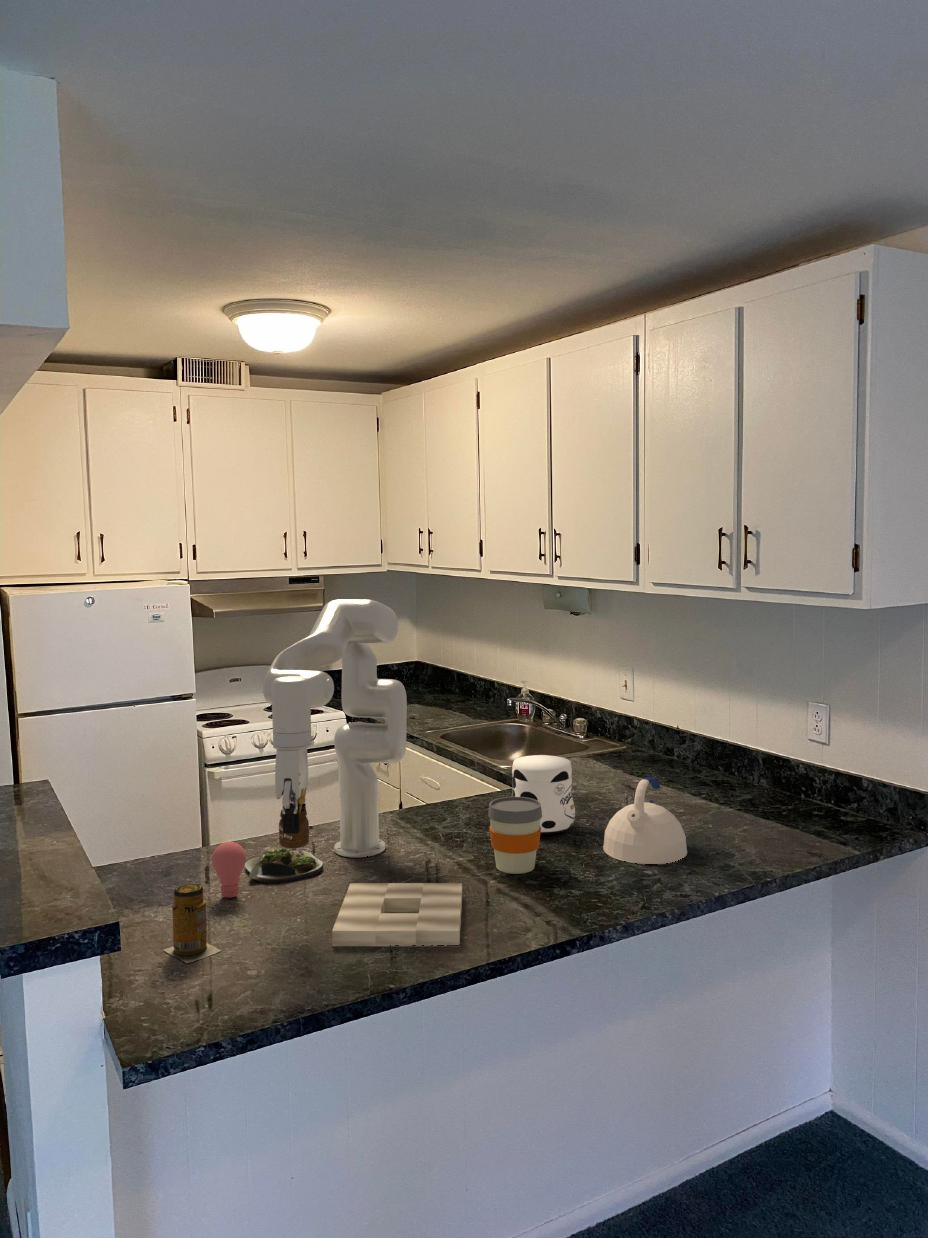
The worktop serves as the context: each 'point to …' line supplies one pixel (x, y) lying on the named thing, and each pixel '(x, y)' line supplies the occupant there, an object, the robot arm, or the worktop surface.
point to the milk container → (546, 789)
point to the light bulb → (229, 866)
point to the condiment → (190, 925)
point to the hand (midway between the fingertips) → (294, 826)
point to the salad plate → (283, 866)
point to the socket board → (399, 915)
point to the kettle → (645, 832)
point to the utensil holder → (303, 836)
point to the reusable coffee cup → (515, 833)
